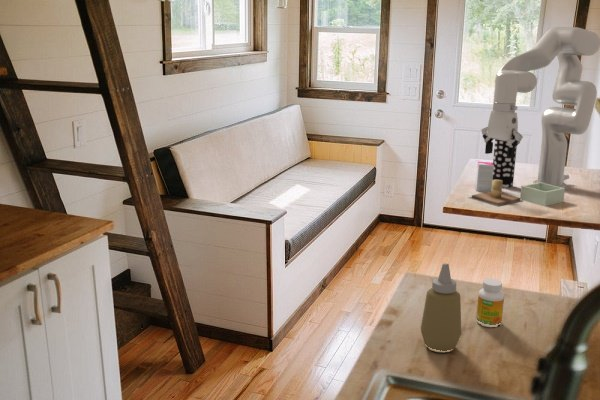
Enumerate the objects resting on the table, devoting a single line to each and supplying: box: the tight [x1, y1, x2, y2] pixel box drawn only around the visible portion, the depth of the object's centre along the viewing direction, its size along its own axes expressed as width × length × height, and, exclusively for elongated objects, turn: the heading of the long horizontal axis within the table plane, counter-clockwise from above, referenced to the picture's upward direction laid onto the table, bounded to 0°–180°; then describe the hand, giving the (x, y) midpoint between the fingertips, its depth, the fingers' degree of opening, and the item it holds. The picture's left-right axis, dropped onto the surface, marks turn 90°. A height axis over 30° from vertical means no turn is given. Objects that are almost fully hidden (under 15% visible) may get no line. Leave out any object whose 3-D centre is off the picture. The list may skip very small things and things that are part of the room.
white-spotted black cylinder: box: [492, 139, 518, 189], centre depth 254 cm, size 8×8×20 cm
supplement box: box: [474, 161, 494, 193], centre depth 247 cm, size 6×6×12 cm
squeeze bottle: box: [420, 262, 462, 351], centre depth 128 cm, size 8×8×18 cm
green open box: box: [519, 182, 566, 207], centre depth 234 cm, size 11×11×6 cm
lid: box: [471, 179, 521, 207], centre depth 234 cm, size 12×12×7 cm
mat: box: [467, 196, 523, 208], centre depth 236 cm, size 14×14×1 cm
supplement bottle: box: [475, 278, 505, 325], centre depth 140 cm, size 5×5×10 cm
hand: (499, 155), depth 231 cm, fingers open, 9 cm apart
